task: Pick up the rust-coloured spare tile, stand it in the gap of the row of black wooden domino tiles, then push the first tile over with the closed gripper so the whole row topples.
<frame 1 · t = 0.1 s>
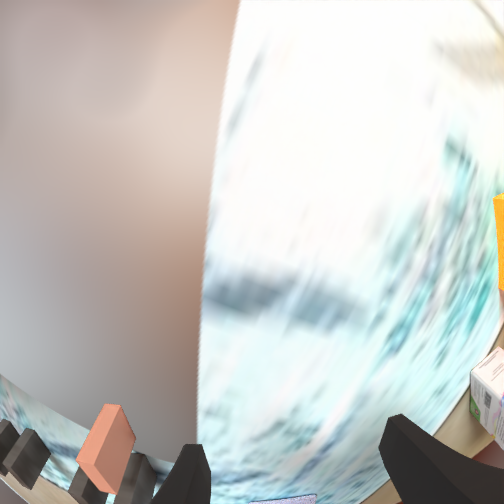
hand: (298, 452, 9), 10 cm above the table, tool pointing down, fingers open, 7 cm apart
tile 4: (14, 432, 21), on the table
tile 2: (102, 458, 22), on the table
ink box: (483, 380, 22), on the table
tile 3: (38, 441, 21), on the table
tile 1: (143, 465, 22), on the table
spare tile: (120, 421, 20), on the table
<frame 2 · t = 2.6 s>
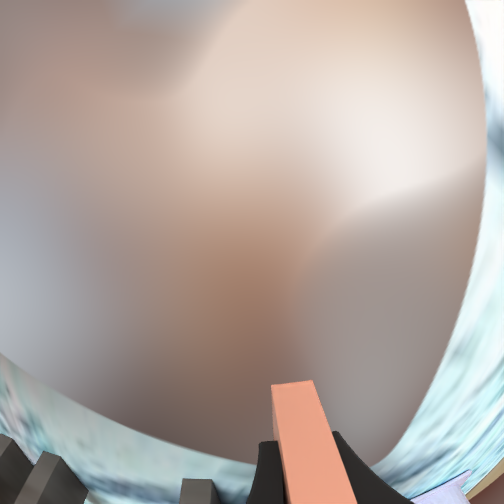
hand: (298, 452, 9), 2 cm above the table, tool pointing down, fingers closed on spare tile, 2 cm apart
tile 4: (20, 455, 12), on the table
tile 2: (204, 495, 12), on the table
tile 3: (66, 472, 12), on the table
spare tile: (291, 420, 11), on the table, touching gripper
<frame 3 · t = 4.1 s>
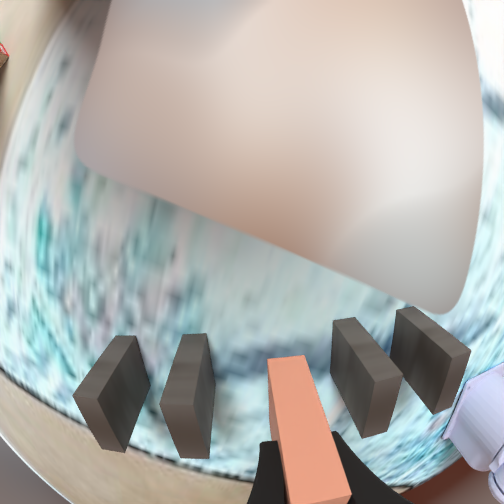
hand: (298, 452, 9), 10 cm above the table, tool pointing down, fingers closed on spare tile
tile 4: (133, 361, 19), on the table
tile 2: (342, 346, 19), on the table
tile 3: (199, 361, 19), on the table
tile 1: (401, 334, 19), on the table
spare tile: (285, 393, 12), point 6 cm above the table, touching gripper
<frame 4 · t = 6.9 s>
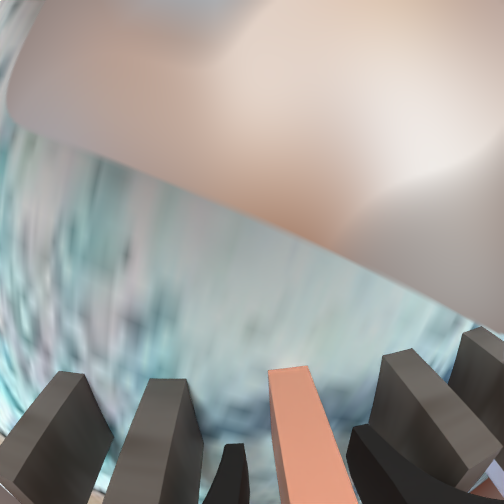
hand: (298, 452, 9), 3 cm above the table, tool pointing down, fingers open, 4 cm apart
tile 4: (86, 406, 11), on the table
tile 2: (390, 388, 12), on the table
tile 3: (178, 415, 11), on the table
tile 1: (462, 364, 12), on the table
spare tile: (288, 406, 11), on the table
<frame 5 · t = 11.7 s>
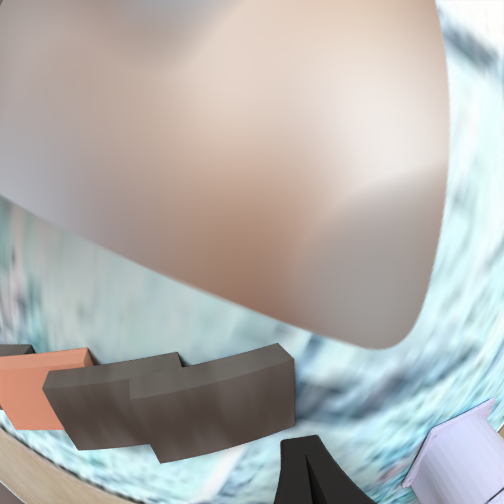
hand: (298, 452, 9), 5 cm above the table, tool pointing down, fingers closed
tile 2: (188, 395, 13), point 1 cm above the table, tilted 71°, touching spare tile, tile 1
tile 3: (39, 381, 13), point 1 cm above the table, tilted 78°, touching spare tile
tile 1: (286, 387, 13), point 1 cm above the table, tilted 71°, touching tile 2
spare tile: (98, 388, 13), point 1 cm above the table, tilted 71°, touching tile 2, tile 3
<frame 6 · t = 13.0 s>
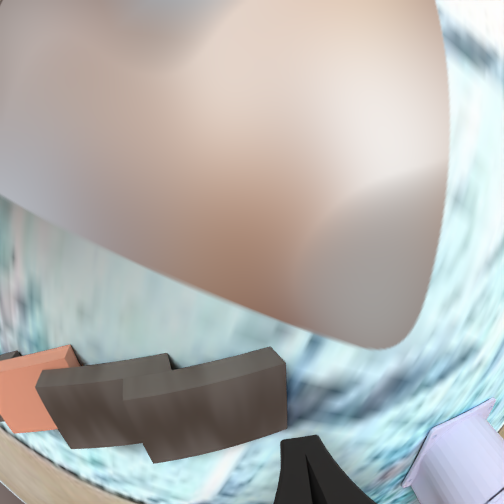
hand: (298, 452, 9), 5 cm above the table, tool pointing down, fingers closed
tile 2: (178, 396, 13), point 1 cm above the table, tilted 71°, touching spare tile, tile 1
tile 1: (279, 390, 13), point 1 cm above the table, tilted 71°, touching tile 2
spare tile: (84, 384, 13), point 1 cm above the table, tilted 71°, touching tile 2, tile 3
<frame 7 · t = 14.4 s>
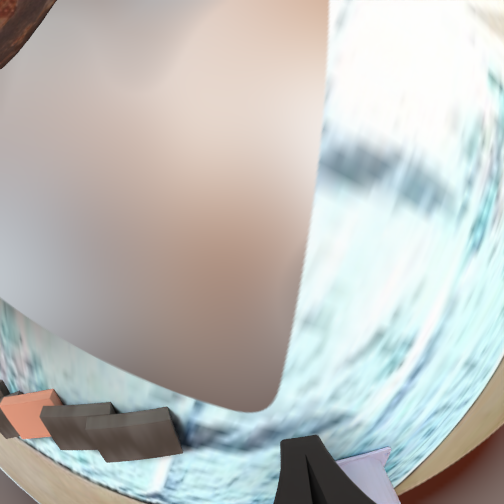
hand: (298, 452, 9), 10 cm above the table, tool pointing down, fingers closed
tile 4: (10, 397, 19), on the table, tilted 90°, touching tile 3
tile 2: (118, 425, 19), point 1 cm above the table, tilted 73°, touching spare tile, tile 1
tile 3: (30, 411, 19), point 1 cm above the table, tilted 74°, touching spare tile, tile 4
tile 1: (175, 431, 19), point 1 cm above the table, tilted 72°, touching tile 2
jug: (11, 19, 12), on the table
spare tile: (62, 411, 19), point 1 cm above the table, tilted 71°, touching tile 2, tile 3
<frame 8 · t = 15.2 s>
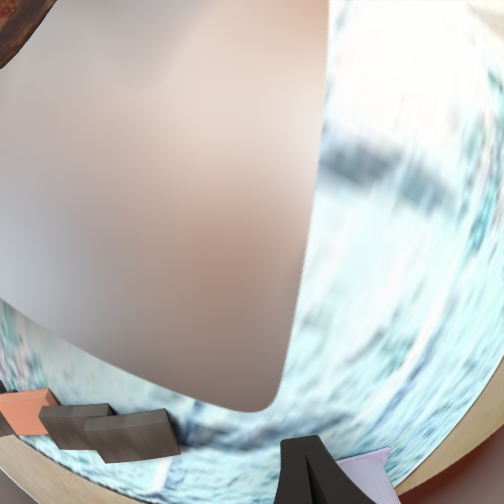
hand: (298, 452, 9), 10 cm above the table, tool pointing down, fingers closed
tile 4: (9, 396, 19), on the table, tilted 90°, touching tile 3
tile 2: (116, 426, 19), point 1 cm above the table, tilted 74°, touching tile 1
tile 3: (24, 409, 19), point 1 cm above the table, tilted 73°, touching spare tile, tile 4
tile 1: (172, 432, 19), point 1 cm above the table, tilted 73°, touching tile 2
jug: (11, 19, 12), on the table
spare tile: (57, 410, 19), point 1 cm above the table, tilted 72°, touching tile 3
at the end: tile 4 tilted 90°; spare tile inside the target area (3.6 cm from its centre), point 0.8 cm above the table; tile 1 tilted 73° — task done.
